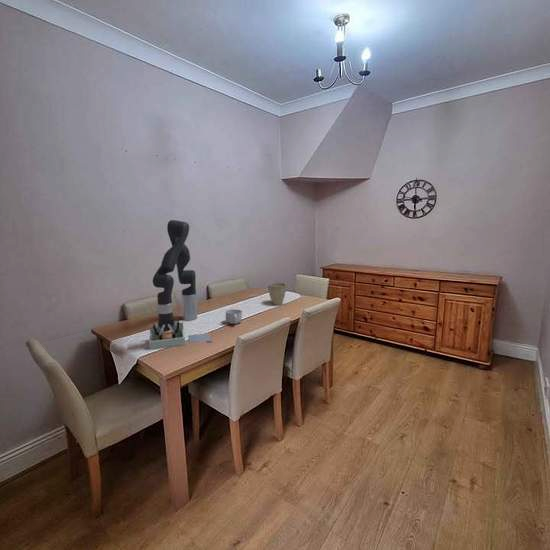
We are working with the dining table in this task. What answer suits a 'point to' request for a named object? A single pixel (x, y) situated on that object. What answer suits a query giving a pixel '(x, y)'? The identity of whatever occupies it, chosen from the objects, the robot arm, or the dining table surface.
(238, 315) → the teacup
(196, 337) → the slate tile
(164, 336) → the pot
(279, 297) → the plant pot
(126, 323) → the dining table surface
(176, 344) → the cold frame
